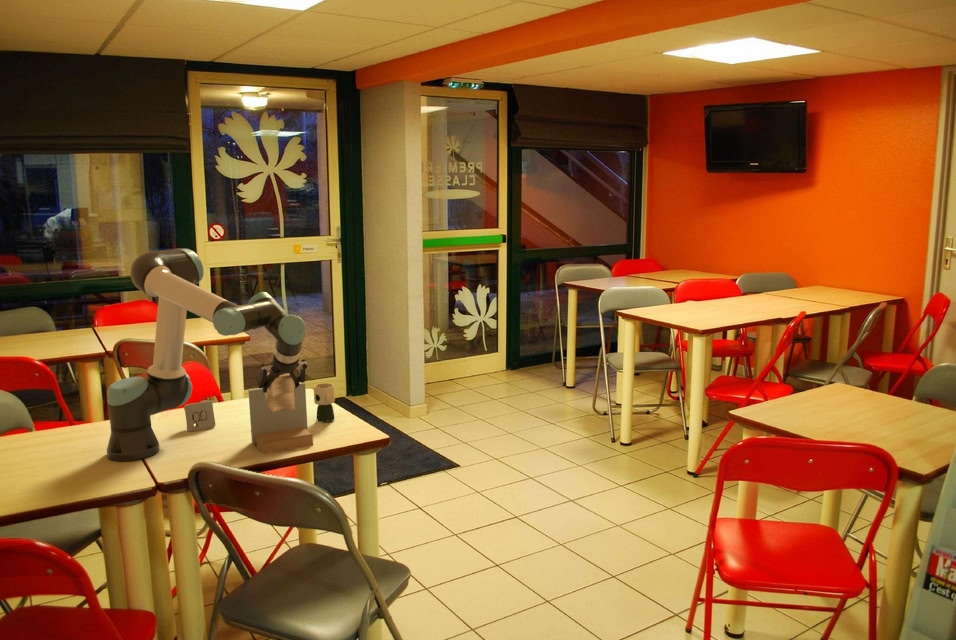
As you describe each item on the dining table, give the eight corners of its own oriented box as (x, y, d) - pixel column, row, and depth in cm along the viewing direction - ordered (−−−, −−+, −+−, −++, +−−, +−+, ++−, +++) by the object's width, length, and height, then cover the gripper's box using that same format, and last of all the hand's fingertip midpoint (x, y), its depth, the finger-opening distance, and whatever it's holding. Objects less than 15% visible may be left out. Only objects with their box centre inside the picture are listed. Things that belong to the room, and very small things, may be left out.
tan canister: (273, 412, 241) (270, 374, 239) (268, 406, 248) (265, 369, 245) (295, 408, 244) (293, 371, 242) (290, 403, 251) (287, 366, 248)
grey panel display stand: (259, 453, 244) (256, 398, 240) (251, 442, 254) (248, 389, 251) (316, 444, 252) (313, 390, 248) (306, 433, 262) (303, 382, 259)
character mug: (312, 418, 279) (310, 383, 277) (331, 415, 282) (329, 380, 280) (319, 426, 269) (317, 390, 267) (339, 423, 272) (337, 387, 270)
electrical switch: (187, 432, 265) (185, 406, 264) (184, 430, 269) (182, 403, 268) (216, 428, 270) (213, 401, 269) (212, 425, 274) (210, 399, 273)
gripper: (255, 369, 225) (248, 408, 242) (322, 360, 234) (312, 399, 251) (250, 347, 229) (244, 388, 246) (317, 340, 238) (306, 380, 255)
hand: (278, 394), depth 249 cm, fingers closed on tan canister, 7 cm apart
